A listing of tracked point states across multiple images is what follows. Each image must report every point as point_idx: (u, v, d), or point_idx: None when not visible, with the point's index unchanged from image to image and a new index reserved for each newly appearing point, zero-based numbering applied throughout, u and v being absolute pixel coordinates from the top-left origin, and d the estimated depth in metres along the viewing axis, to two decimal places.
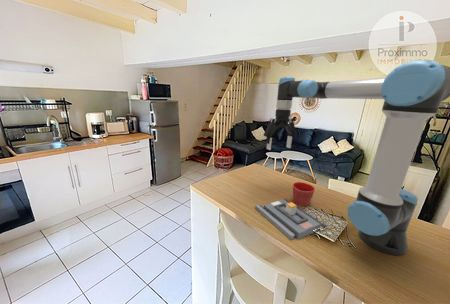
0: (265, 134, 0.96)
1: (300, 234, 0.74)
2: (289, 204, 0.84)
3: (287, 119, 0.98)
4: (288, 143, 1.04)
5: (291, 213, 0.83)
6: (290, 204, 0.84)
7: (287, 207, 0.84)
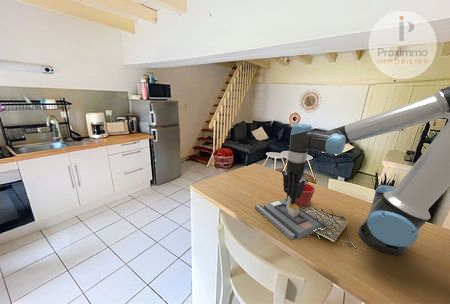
0: None
1: (300, 234, 0.74)
2: (291, 206, 0.83)
3: (298, 174, 0.77)
4: None
5: (293, 215, 0.82)
6: (292, 206, 0.83)
7: (289, 208, 0.83)
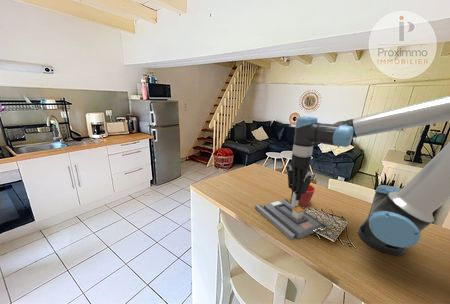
0: None
1: (300, 234, 0.74)
2: (296, 208, 0.81)
3: (304, 168, 0.75)
4: None
5: (298, 218, 0.80)
6: (297, 208, 0.81)
7: (293, 211, 0.81)
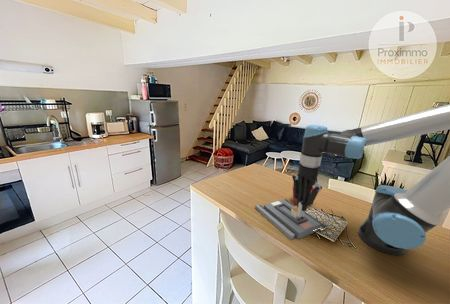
0: None
1: (300, 234, 0.74)
2: (294, 208, 0.82)
3: (311, 179, 0.72)
4: None
5: (296, 218, 0.81)
6: (295, 208, 0.82)
7: (292, 210, 0.82)
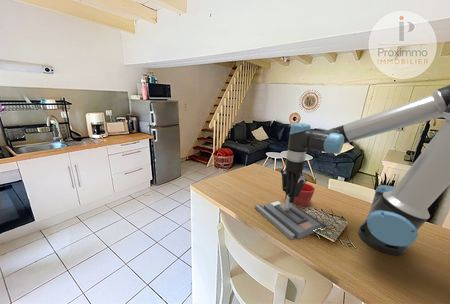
0: None
1: (300, 234, 0.74)
2: (283, 200, 0.87)
3: (297, 173, 0.78)
4: None
5: (285, 209, 0.87)
6: (284, 200, 0.87)
7: (281, 202, 0.88)
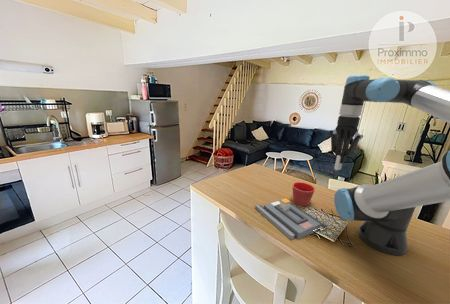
0: None
1: (300, 234, 0.74)
2: (283, 200, 0.87)
3: (352, 129, 0.75)
4: None
5: (285, 209, 0.87)
6: (284, 200, 0.87)
7: (281, 202, 0.88)
